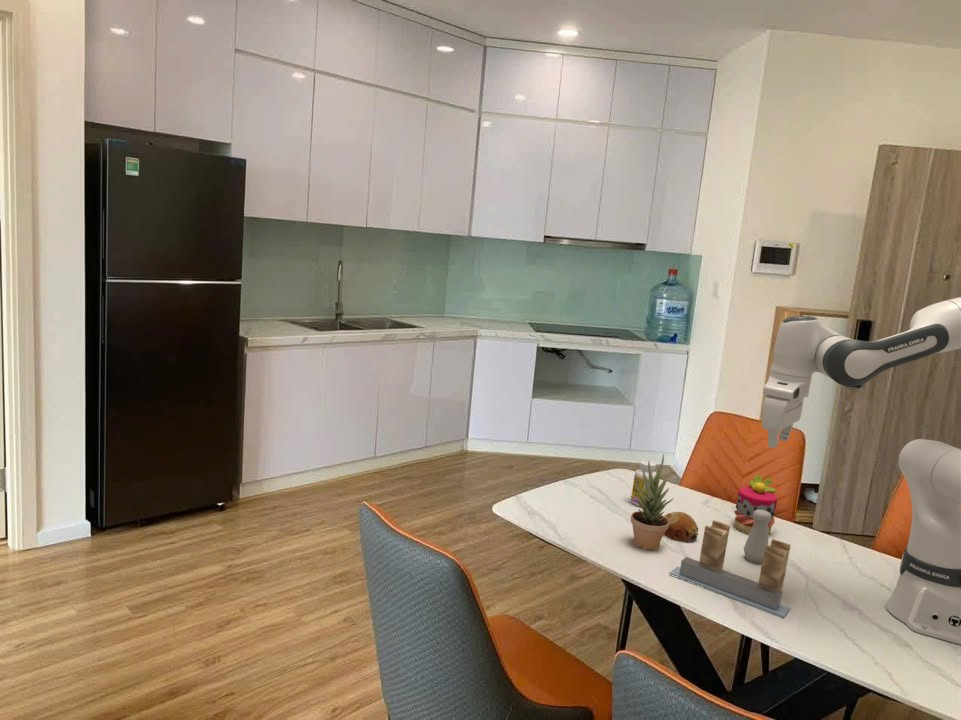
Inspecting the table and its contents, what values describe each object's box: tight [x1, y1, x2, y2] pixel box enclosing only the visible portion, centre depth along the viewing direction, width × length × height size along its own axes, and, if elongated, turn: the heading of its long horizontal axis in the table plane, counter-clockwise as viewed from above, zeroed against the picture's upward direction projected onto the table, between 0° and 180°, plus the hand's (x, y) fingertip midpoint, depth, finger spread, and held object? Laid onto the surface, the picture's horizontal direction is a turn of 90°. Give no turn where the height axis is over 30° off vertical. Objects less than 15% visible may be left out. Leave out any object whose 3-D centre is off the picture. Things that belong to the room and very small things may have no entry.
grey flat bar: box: [668, 566, 791, 619], centre depth 164 cm, size 26×5×1 cm, turn 53°
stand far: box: [698, 520, 731, 570], centre depth 174 cm, size 4×6×11 cm, turn 143°
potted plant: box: [630, 453, 674, 550], centre depth 183 cm, size 10×10×25 cm
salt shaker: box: [743, 510, 771, 564], centre depth 182 cm, size 6×6×13 cm
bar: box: [679, 556, 783, 611], centre depth 163 cm, size 22×3×4 cm, turn 53°
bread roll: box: [663, 511, 699, 543], centre depth 194 cm, size 10×10×8 cm
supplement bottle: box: [630, 460, 657, 508], centre depth 214 cm, size 7×7×13 cm
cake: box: [733, 474, 778, 536], centre depth 203 cm, size 10×11×15 cm
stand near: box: [758, 539, 791, 591], centre depth 166 cm, size 4×6×11 cm, turn 143°
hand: (778, 443), depth 168 cm, fingers open, 8 cm apart
